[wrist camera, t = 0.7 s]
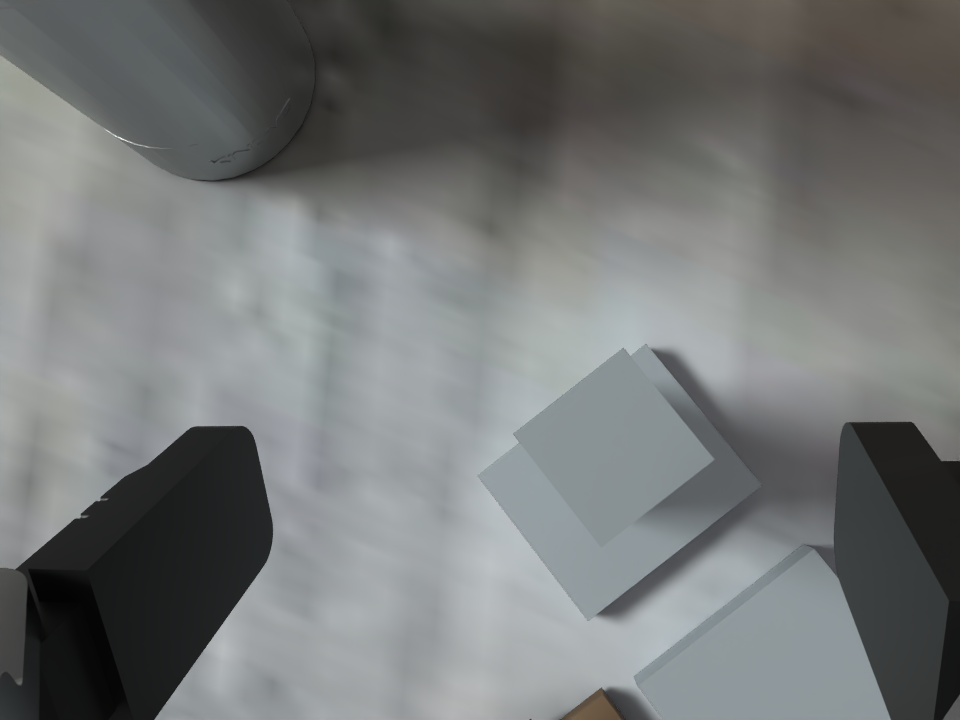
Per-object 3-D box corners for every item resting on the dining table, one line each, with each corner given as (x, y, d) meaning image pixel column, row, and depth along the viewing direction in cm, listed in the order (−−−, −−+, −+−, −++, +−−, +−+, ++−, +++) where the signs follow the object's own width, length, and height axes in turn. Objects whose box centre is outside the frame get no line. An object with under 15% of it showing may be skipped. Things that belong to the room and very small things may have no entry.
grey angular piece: (480, 474, 33) (433, 494, 20) (642, 347, 33) (701, 284, 20) (766, 850, 31) (925, 1152, 18) (942, 714, 31) (1233, 915, 18)
